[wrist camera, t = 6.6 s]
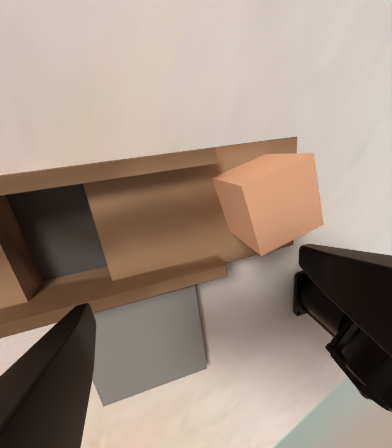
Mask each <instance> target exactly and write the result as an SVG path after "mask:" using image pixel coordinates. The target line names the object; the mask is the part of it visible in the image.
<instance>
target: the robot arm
mask: <svg viewBox="0 0 392 448" xmlns="http://www.w3.org/2000/svg"><path fill="white" fill-rule="evenodd" d="M299 265H300V267H301V268H302V269H303V271H301V272H298V273H296V275H295V286H294V309H293V312H294V314H295V315H296V316H299V315H302V314H305V313H308V314H309V315H310V316H311V317H312V318H313V319H314V320H315V321H316V322H318V323H319V324H320V325H321V326H322V327H323V328H324V329H325V330H326V331H327V332H329V333H330V334H331V335H332V336H333V337H334V338H333V339H332V341H331V342H330V343H328V344H327V346H326V347H325V348H326V349H327V350H328V352H329V353H330V355H331V357H332V358H333V359H334V360H335V362H336V363H337V364H338V365H339V366H340V368H341V369H342V370H343V371H344V373H345V374H346V375H347V376H348V377H349V379H350V380H351V381H352V382H353V384H354V385H355V386H356V387H357V389H358V391H359V392H360V394H361V395H362V396H363V397H364V398H366V399H370V400H373V401H374V402H376V403H377V404H378V405H380V406H381V407H383V408H384V409H386V410H388V411H391V412H392V256H391V255H384V254H377V253H370V252H363V251H356V250H349V249H342V248H335V247H328V246H321V245H314V244H306V245H302V246H301V247H300V248H299ZM95 343H96V320H95V317H94V314H93V312H92V309H91V306H90V304H89V303H84V304H80V305H77V306H75V307H74V308H73V309H72V310H71V311H70V312H69V313H68V314H66V315H65V316H64V317H63V318H62V319H61V320H60V321H59V322H58V323H57V324H56V325H55V326H54V327H53V328H51V329H50V330H49V331H48V332H47V333H46V334H45V335H44V336H43V337H42V338H41V339H40V340H39V341H38V342H36V343H35V344H34V345H33V346H32V347H31V348H30V349H29V350H28V351H27V352H26V353H25V354H24V355H23V356H21V357H20V358H19V359H18V360H17V361H16V362H15V363H14V364H13V365H12V366H11V367H10V368H9V369H8V370H6V371H5V372H4V373H3V374H2V375H1V376H0V448H80V447H81V441H82V436H83V430H84V424H85V418H86V413H87V407H88V401H89V395H90V389H91V384H92V378H93V371H94V360H95Z"/></svg>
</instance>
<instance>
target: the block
mask: <svg viewBox="0 0 392 448" xmlns="http://www.w3.org/2000/svg"><path fill="white" fill-rule="evenodd" d="M212 180H213V183H214V186H215V189H216V192H217V195H218V198H219V201H220V204H221V207H222V210H223V213H224V215H225V218H226V221H227V224H228V227H229V230H230V232H231V233H232V234H234V235H235V236H236V237H238V238H239V239H240V240H241V241H243V242H244V243H245V244H247V245H248V246H249V247H250V248H252V249H253V250H254V251H255V252H257V253H258V254H259V255H261V256H263V255H265V254H267V253H269V252H271V251H272V250H274V249H276V248H278V247H280V246H282V245H284V244H286V243H288V242H290V241H292V240H294V239H296V238H298V237H300V236H302V235H304V234H306V233H308V232H310V231H312V230H314V229H316V228H318V227H320V226H321V225H323V218H322V211H321V203H320V196H319V189H318V181H317V174H316V167H315V160H314V153H301V154H265V155H263V156H260V157H258V158H256V159H254V160H251V161H249V162H247V163H245V164H242V165H240V166H238V167H235V168H233V169H231V170H229V171H226V172H224V173H222V174H219V175H217V176H215V177H213V178H212Z"/></svg>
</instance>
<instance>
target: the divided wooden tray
mask: <svg viewBox="0 0 392 448" xmlns="http://www.w3.org/2000/svg"><path fill="white" fill-rule="evenodd" d="M265 154H297V137H291V138H282V139H274V140H266V141H259V142H251V143H244V144H236V145H228V146H221V147H213V148H206V149H198V150H190V151H183V152H175V153H168V154H160V155H152V156H145V157H137V158H129V159H122V160H114V161H107V162H99V163H91V164H84V165H76V166H69V167H61V168H53V169H46V170H38V171H31V172H23V173H15V174H8V175H0V338H3V337H7V336H10V335H14V334H18V333H21V332H25V331H29V330H32V329H36V328H39V327H43V326H47V325H50V324H54V323H58V322H59V321H60V320H61V319H62V318H63V317H64V316H65V315H66V314H68V313H69V312H70V311H71V310H72V309H73V308H74V307H75V306H77V305H80V304H84V303H89V304H90V306H91V309H92V312H93V313H94V312H97V311H101V310H105V309H108V308H112V307H116V306H119V305H123V304H127V303H130V302H134V301H137V300H141V299H145V298H148V297H152V296H156V295H159V294H163V293H166V292H170V291H174V290H177V289H181V288H185V287H188V286H192V285H195V284H199V283H203V282H206V281H210V280H214V279H217V278H221V277H224V276H227V272H226V265H225V264H224V263H225V262H229V261H233V260H237V259H241V258H245V257H248V256H252V255H256V254H258V253H257V252H255V251H254V250H253V249H252V248H250V247H249V246H248V245H247V244H245V243H244V242H243V241H241V240H240V239H239V238H238V237H236V236H235V235H234V234H232V233H231V232H230V230H229V227H228V224H227V221H226V218H225V215H224V213H223V210H222V207H221V204H220V201H219V198H218V195H217V192H216V189H215V186H214V183H213V180H212V178H213V177H215V176H217V175H219V174H222V173H224V172H226V171H229V170H231V169H233V168H235V167H238V166H240V165H242V164H245V163H247V162H249V161H251V160H254V159H256V158H258V157H260V156H263V155H265ZM291 245H293V240H292V241H290V242H288V243H286V244H284V245H282V246H280V247H278V248H276V249H279V248H283V247H287V246H291ZM274 250H275V249H274Z"/></svg>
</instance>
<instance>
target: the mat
mask: <svg viewBox="0 0 392 448" xmlns="http://www.w3.org/2000/svg"><path fill="white" fill-rule="evenodd" d="M93 314H94V317H95V320H96V343H95V360H94V371H93V378H92V380H93V383H94V385H95V387H96V390H97V392H98V395H99V397H100V399H101V402H102V404H103V407H104V406H106V405H109V404H112V403H114V402H117V401H120V400H123V399H125V398H128V397H131V396H133V395H136V394H139V393H142V392H144V391H147V390H150V389H152V388H155V387H158V386H160V385H163V384H166V383H169V382H171V381H174V380H177V379H179V378H182V377H185V376H187V375H190V374H193V373H196V372H198V371H201V370H204V369H206V368H207V363H206V356H205V350H204V343H203V336H202V329H201V322H200V315H199V309H198V302H197V295H196V288H195V285H192V286H188V287H185V288H181V289H177V290H174V291H170V292H166V293H163V294H159V295H156V296H152V297H148V298H145V299H141V300H137V301H134V302H130V303H127V304H123V305H119V306H116V307H112V308H108V309H105V310H101V311H97V312H94V313H93Z"/></svg>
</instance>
